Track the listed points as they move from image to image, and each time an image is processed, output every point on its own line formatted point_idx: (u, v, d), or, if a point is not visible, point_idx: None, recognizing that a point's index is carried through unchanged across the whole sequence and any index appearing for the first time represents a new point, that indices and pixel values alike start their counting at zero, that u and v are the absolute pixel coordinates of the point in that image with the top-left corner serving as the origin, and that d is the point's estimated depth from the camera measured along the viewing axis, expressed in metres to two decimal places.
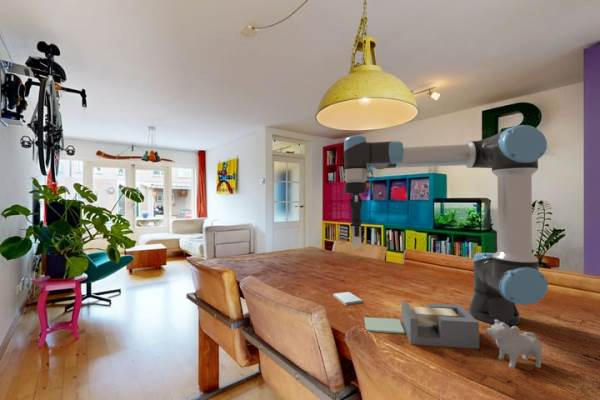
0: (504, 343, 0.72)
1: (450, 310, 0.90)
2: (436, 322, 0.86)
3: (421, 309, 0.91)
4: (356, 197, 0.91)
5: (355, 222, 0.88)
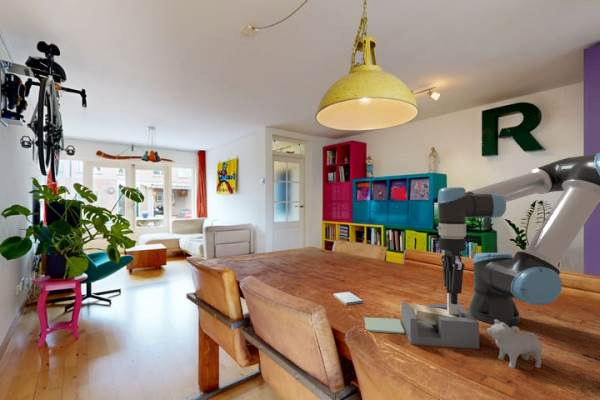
0: (504, 343, 0.72)
1: None
2: (435, 321, 0.86)
3: (421, 307, 0.91)
4: (460, 267, 0.82)
5: (455, 290, 0.85)
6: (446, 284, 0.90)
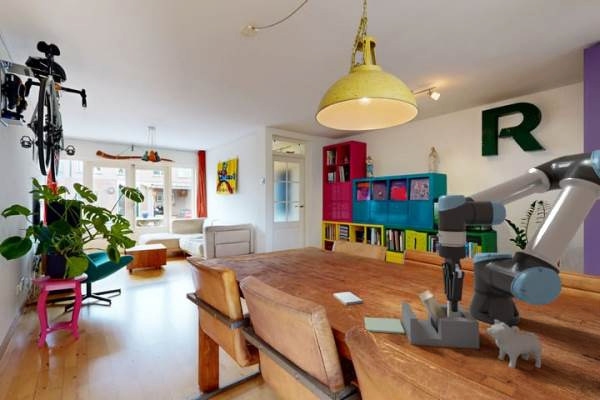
0: (504, 343, 0.72)
1: None
2: (436, 316, 0.86)
3: None
4: (460, 275, 0.82)
5: (455, 298, 0.85)
6: (446, 291, 0.90)
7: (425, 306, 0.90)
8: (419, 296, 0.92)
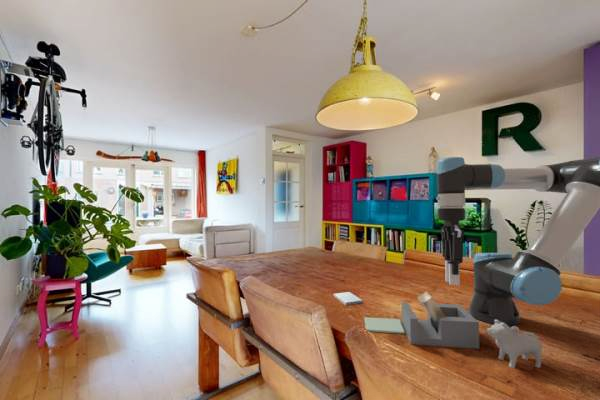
0: (504, 343, 0.72)
1: None
2: (437, 317, 0.86)
3: None
4: (459, 233, 0.82)
5: (456, 260, 0.84)
6: (444, 254, 0.91)
7: None
8: None
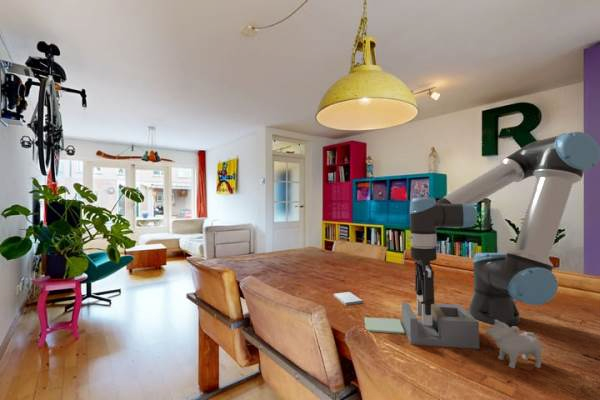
0: (504, 342, 0.72)
1: None
2: (437, 317, 0.86)
3: None
4: (429, 273, 0.83)
5: (428, 301, 0.83)
6: (416, 289, 0.94)
7: None
8: None
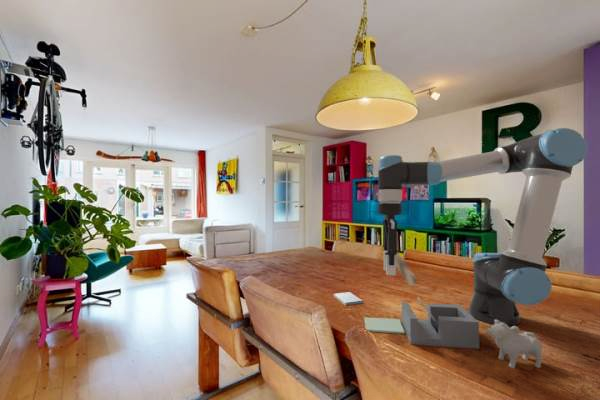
0: (504, 343, 0.72)
1: None
2: (400, 268, 0.91)
3: None
4: (393, 225, 0.88)
5: (391, 251, 0.88)
6: (384, 245, 0.99)
7: None
8: (417, 298, 0.92)
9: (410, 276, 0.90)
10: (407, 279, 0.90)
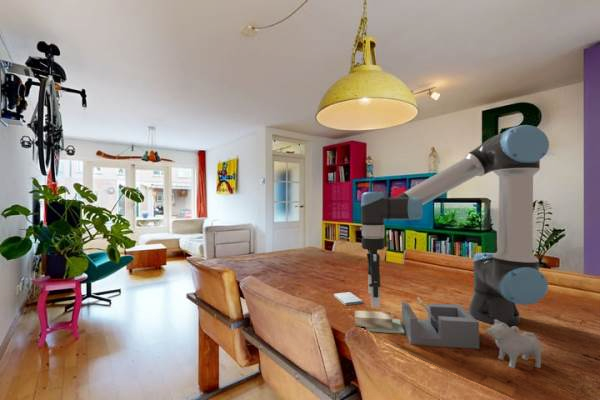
0: (504, 343, 0.72)
1: (387, 314, 0.97)
2: (372, 325, 0.94)
3: (361, 312, 0.98)
4: (375, 256, 0.90)
5: (374, 283, 0.87)
6: (368, 270, 1.04)
7: None
8: (417, 298, 0.92)
9: (384, 322, 0.93)
10: (385, 326, 0.93)
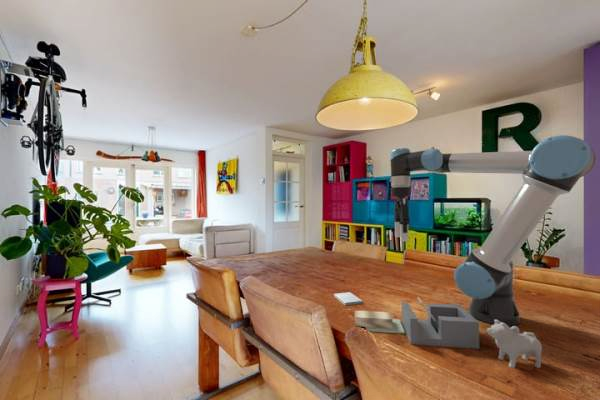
0: (504, 343, 0.72)
1: (387, 314, 0.97)
2: (372, 325, 0.94)
3: (361, 312, 0.98)
4: (404, 200, 1.09)
5: (404, 220, 1.06)
6: (395, 217, 1.23)
7: None
8: (417, 298, 0.92)
9: (384, 322, 0.93)
10: (385, 326, 0.93)
